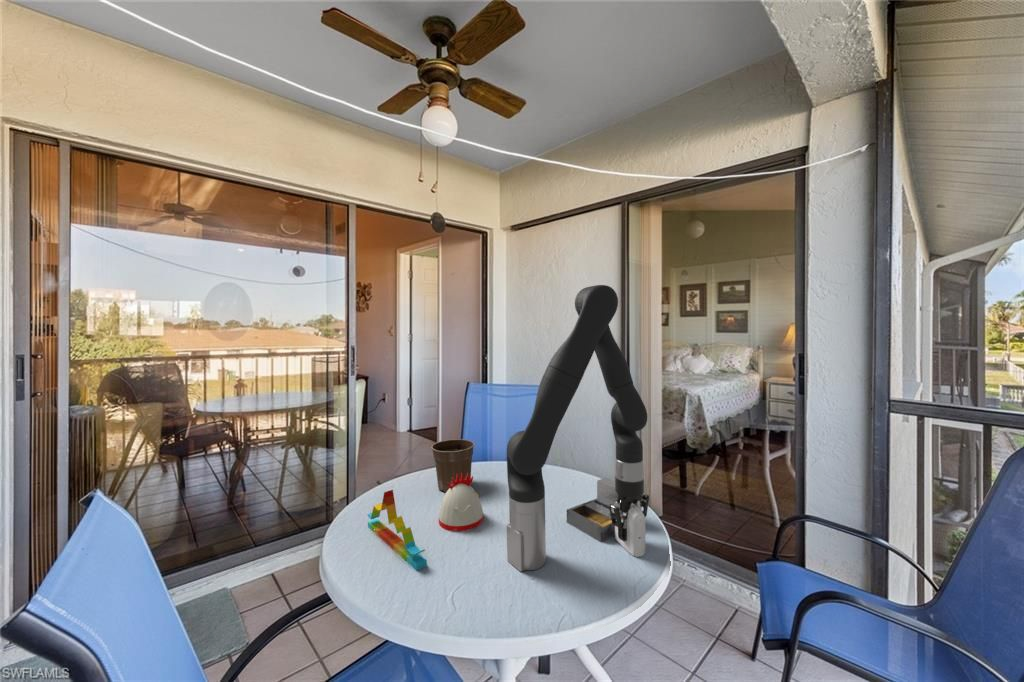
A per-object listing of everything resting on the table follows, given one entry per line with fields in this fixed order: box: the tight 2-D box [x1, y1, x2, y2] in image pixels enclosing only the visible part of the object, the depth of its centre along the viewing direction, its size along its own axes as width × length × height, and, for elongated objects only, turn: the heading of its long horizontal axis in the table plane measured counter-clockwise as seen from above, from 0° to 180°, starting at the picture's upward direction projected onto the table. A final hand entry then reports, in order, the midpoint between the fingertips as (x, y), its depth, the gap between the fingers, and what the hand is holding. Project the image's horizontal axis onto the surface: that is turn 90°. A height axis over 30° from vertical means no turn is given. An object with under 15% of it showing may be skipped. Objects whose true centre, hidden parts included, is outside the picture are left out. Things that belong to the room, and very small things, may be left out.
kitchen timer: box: [438, 473, 484, 532], centre depth 129 cm, size 14×14×15 cm
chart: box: [367, 489, 428, 571], centre depth 115 cm, size 30×3×15 cm, turn 42°
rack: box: [566, 477, 618, 543], centre depth 125 cm, size 17×14×11 cm
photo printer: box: [614, 502, 646, 558], centre depth 111 cm, size 10×4×12 cm, turn 17°
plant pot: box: [431, 438, 475, 493], centre depth 155 cm, size 16×16×16 cm
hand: (629, 536), depth 112 cm, fingers closed on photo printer, 5 cm apart
